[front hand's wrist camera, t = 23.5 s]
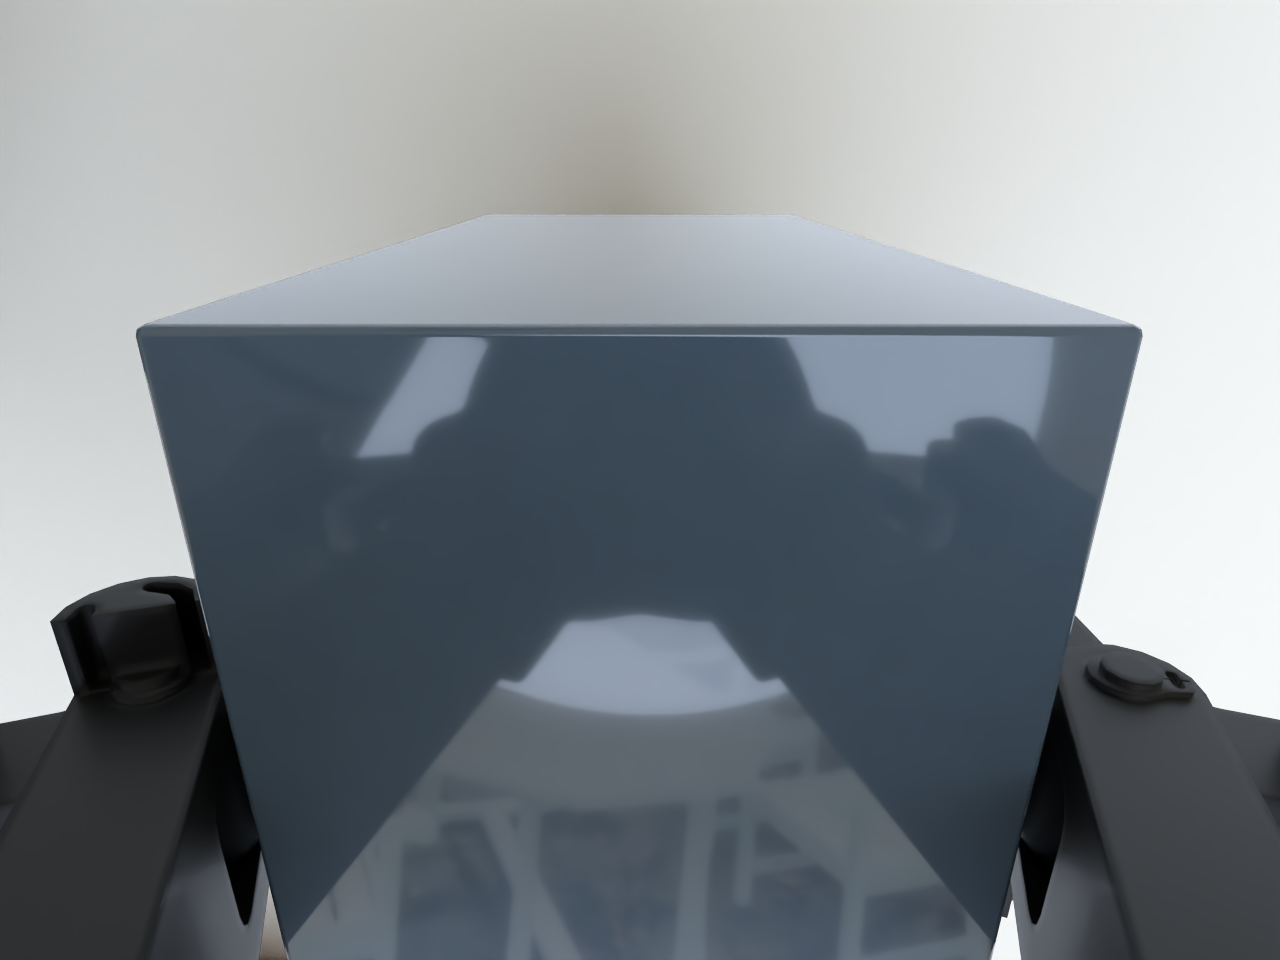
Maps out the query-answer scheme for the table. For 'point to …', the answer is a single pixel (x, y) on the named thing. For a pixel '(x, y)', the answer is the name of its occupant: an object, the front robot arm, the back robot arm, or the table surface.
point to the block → (639, 583)
